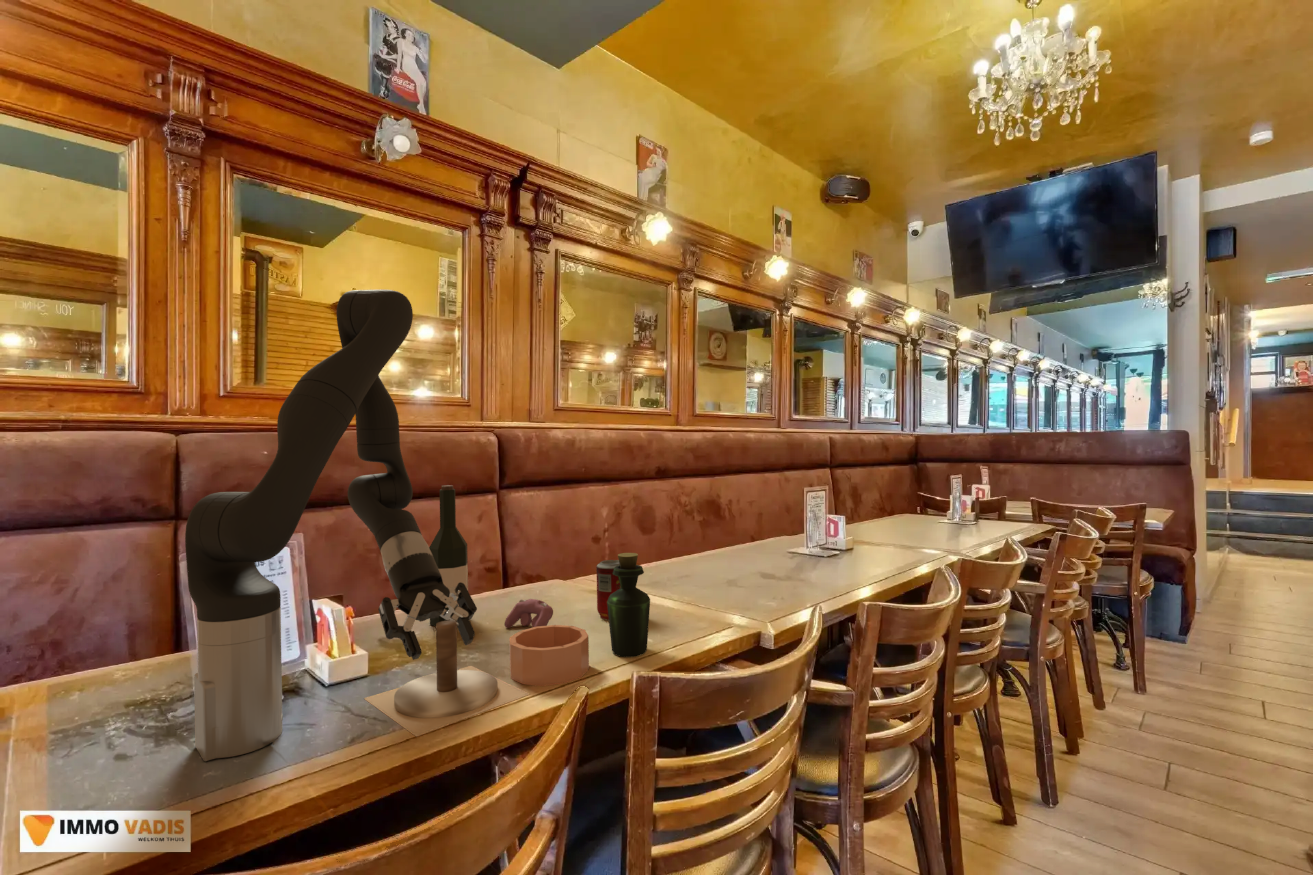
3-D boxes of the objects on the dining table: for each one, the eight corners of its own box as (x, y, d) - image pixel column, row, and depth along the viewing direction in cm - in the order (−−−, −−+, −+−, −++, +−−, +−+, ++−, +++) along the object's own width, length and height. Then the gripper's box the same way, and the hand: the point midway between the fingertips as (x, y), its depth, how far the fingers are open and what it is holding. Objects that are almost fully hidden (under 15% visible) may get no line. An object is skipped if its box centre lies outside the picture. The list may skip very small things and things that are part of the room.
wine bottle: (456, 628, 129) (454, 487, 130) (421, 626, 131) (419, 487, 131) (476, 616, 138) (474, 484, 138) (442, 615, 139) (440, 484, 139)
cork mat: (416, 739, 81) (416, 736, 81) (363, 700, 93) (363, 698, 93) (530, 696, 94) (530, 693, 94) (470, 667, 106) (470, 665, 106)
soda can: (622, 622, 131) (621, 565, 132) (592, 620, 133) (591, 564, 133) (633, 613, 138) (632, 559, 138) (604, 611, 140) (602, 558, 140)
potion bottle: (647, 642, 118) (646, 549, 118) (654, 657, 110) (653, 557, 110) (605, 645, 117) (604, 551, 117) (609, 660, 109) (608, 559, 109)
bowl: (540, 694, 95) (539, 655, 95) (495, 673, 104) (494, 637, 104) (603, 670, 104) (602, 635, 104) (557, 653, 113) (556, 620, 113)
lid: (422, 728, 83) (421, 646, 83) (377, 697, 93) (376, 624, 93) (516, 694, 94) (515, 621, 94) (467, 670, 104) (466, 604, 104)
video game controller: (549, 637, 127) (559, 604, 130) (536, 633, 123) (546, 599, 126) (515, 630, 132) (524, 598, 135) (501, 626, 129) (511, 593, 131)
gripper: (372, 558, 95) (406, 647, 87) (457, 545, 106) (494, 624, 98) (360, 586, 99) (391, 675, 91) (443, 571, 109) (477, 650, 101)
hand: (444, 649), depth 94 cm, fingers open, 8 cm apart
